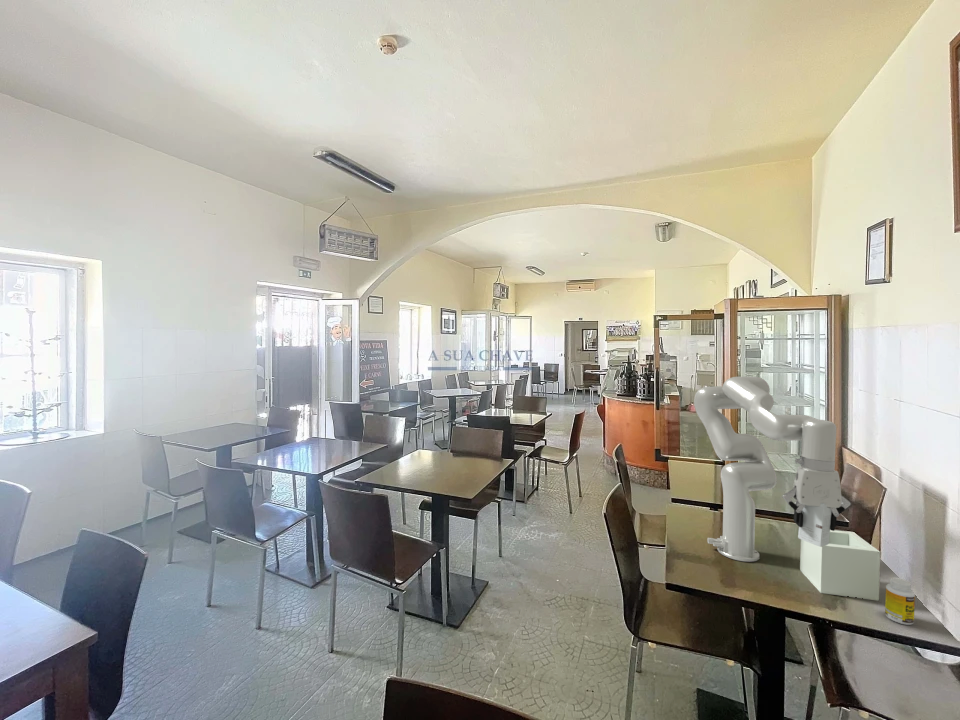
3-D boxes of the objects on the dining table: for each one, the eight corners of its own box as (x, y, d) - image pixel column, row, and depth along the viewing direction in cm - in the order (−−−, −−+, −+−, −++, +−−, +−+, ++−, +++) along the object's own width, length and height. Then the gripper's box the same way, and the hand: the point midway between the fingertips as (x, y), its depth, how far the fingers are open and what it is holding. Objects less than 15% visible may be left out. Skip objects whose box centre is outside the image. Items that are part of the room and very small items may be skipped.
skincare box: (797, 538, 125) (799, 496, 125) (806, 535, 127) (808, 494, 127) (821, 547, 120) (823, 504, 119) (830, 544, 122) (832, 501, 121)
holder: (820, 592, 128) (822, 545, 128) (800, 570, 142) (801, 526, 141) (878, 600, 124) (880, 551, 124) (851, 576, 138) (853, 532, 138)
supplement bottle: (907, 628, 112) (908, 588, 112) (880, 616, 117) (881, 578, 117) (918, 623, 114) (919, 584, 114) (891, 611, 119) (892, 574, 119)
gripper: (787, 465, 122) (784, 528, 122) (862, 470, 117) (858, 536, 118) (776, 458, 129) (774, 518, 130) (847, 463, 124) (844, 525, 125)
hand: (814, 526), depth 124 cm, fingers closed on skincare box, 6 cm apart
